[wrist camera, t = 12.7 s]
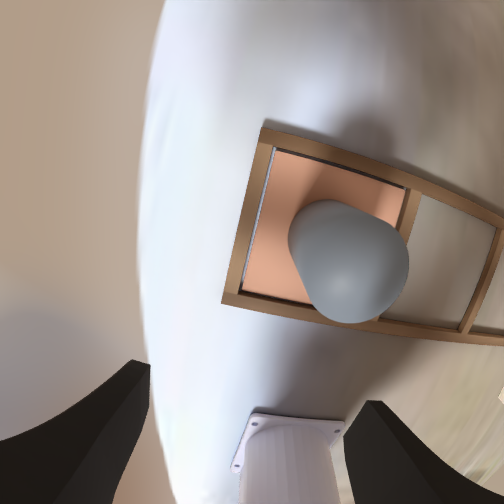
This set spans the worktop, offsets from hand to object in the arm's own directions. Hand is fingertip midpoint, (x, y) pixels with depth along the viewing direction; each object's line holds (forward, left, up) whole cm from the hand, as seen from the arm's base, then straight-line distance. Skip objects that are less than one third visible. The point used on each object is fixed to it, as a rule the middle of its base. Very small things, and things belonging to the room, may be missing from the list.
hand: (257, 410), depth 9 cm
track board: (+4, -12, -9) cm, 16 cm away
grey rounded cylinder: (+4, -3, -9) cm, 10 cm away
